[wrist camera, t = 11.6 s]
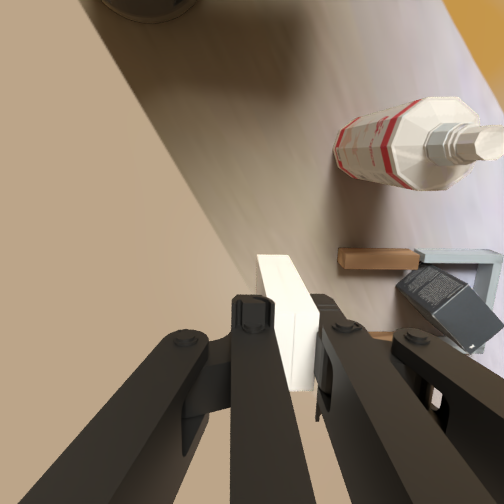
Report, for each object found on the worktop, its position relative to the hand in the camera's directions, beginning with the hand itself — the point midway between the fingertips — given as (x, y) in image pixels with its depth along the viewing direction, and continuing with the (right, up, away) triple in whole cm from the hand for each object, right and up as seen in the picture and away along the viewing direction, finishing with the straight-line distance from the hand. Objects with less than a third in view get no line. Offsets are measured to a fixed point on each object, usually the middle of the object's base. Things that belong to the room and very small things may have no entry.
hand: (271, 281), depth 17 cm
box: (+24, -4, +36) cm, 44 cm away
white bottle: (+14, +15, +30) cm, 37 cm away
